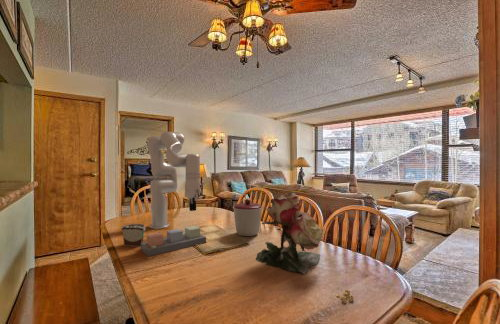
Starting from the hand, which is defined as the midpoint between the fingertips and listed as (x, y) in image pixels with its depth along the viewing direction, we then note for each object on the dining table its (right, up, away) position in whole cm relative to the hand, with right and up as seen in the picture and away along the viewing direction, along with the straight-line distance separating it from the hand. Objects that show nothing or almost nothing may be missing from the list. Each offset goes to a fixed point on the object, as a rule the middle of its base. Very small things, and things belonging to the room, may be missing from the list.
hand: (192, 210), depth 131 cm
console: (-8, -17, -6) cm, 20 cm away
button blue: (-8, -15, -6) cm, 18 cm away
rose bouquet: (+50, -18, -21) cm, 58 cm away
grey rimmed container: (-29, -17, -4) cm, 34 cm away
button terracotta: (-16, -15, -12) cm, 25 cm away
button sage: (0, -15, 0) cm, 15 cm away
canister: (+30, -17, +14) cm, 37 cm away
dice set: (+62, -19, -53) cm, 84 cm away
